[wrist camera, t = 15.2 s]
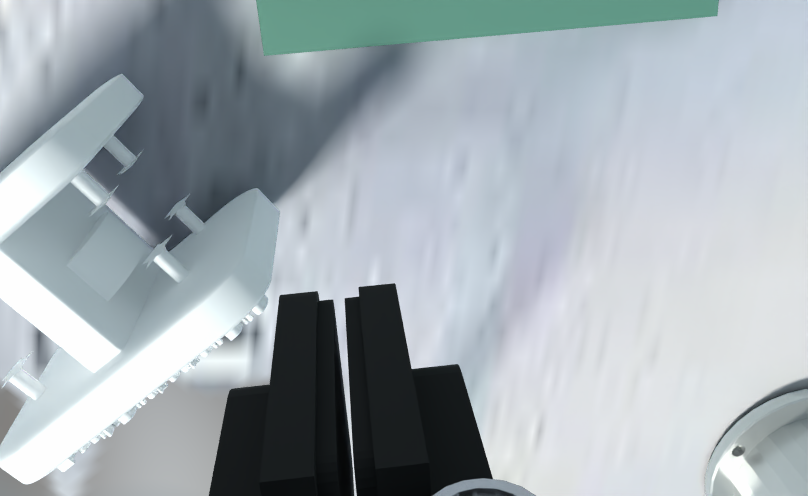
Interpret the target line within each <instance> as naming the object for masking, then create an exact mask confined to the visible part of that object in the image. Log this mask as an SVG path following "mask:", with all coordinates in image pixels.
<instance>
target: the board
mask: <svg viewBox="0 0 808 496" xmlns="http://www.w3.org/2000/svg"><path fill="white" fill-rule="evenodd" d="M256 2H257V9H258V16H259V23H260V30H261V37H262V44H263V51H264V56H266V55H278V54H289V53H301V52H312V51H323V50H335V49H346V48H358V47H369V46H381V45H392V44H403V43H415V42H426V41H438V40H449V39H460V38H472V37H483V36H495V35H506V34H517V33H529V32H540V31H552V30H563V29H575V28H586V27H597V26H609V25H620V24H632V23H643V22H654V21H666V20H677V19H689V18H700V17H711V16H717V13H718V2H719V0H256Z"/></svg>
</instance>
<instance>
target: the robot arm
mask: <svg viewBox="0 0 808 496" xmlns="http://www.w3.org/2000/svg"><path fill="white" fill-rule="evenodd" d="M345 312H346V331H347V349H348V367H349V385H350V403H351V421H352V440H353V457H354V470H355V481H356V491H357V496H536V495H534V494H533V493H531V492H529V491H528V490H526V489H525V488H523V487H521V486H519V485H516V484H513V483H510V482H507V481H504V480H495V479H493V478H492V474H491V471H490V468H489V464H488V461H487V457H486V454H485V451H484V447H483V444H482V440H481V437H480V434H479V430H478V427H477V423H476V420H475V417H474V413H473V410H472V406H471V403H470V400H469V396H468V393H467V389H466V386H465V383H464V379H463V376H462V372H461V370H460V367H459V365H458V364H455V365H446V366H437V367H427V368H418V369H411V364H410V359H409V354H408V348H407V343H406V338H405V332H404V327H403V322H402V317H401V311H400V306H399V301H398V295H397V290H396V285H395V283H394V284H384V285H375V286H365V287H359V297H352V298H345ZM705 494H706V496H808V389H803V390H799V391H795V392H791V393H787V394H784V395H782V396H779V397H777V398H774V399H772V400H769V401H768V402H766V403H764V404H762V405H760V406H759V407H757V408H755V409H753V410H752V411H751V412H749V413H748V414H747V415H745V416H744V417H743V418H742V419H740V420H739V421H738V422H737V423H736V424H735V425H734V426H733V427H732V428H731V429H730V430H729V431H728V432H727V433H726V434H725V435H724V437H723V438H722V440H721V441H720V443H719V444H718V445H717V447H716V448H715V450H714V452H713V454H712V457H711V459H710V461H709V463H708V467H707V471H706V475H705ZM209 496H354V484H353V467H352V455H351V446H350V437H349V429H348V420H347V412H346V403H345V395H344V386H343V378H342V369H341V360H340V352H339V343H338V335H337V326H336V318H335V309H334V302H333V300H323V301H319V295H318V291H316V292H306V293H296V294H287V295H280V297H279V305H278V315H277V324H276V333H275V342H274V351H273V360H272V369H271V378H270V385H262V386H253V387H244V388H235V389H231V390H230V391H229V395H228V398H227V404H226V409H225V414H224V419H223V424H222V430H221V435H220V440H219V446H218V451H217V456H216V461H215V466H214V471H213V477H212V482H211V487H210V492H209Z"/></svg>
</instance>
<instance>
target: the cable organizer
mask: <svg viewBox="0 0 808 496" xmlns="http://www.w3.org/2000/svg"><path fill="white" fill-rule="evenodd" d="M143 97H144V96H143V94H142V93H141V92H140V91H139V90H138V89H137V88H136V87H135V86H134V85H133V84H132V83H131V82H130V81H129V80H128V79H127V78H126V77H125V76H124V75H123V74H120V75H117V76H115V77H113V78H112V79H110V80H109V81H107V82H106V83H104V84H103V85H102V86H100V87H99V88H98V89H96V90H95V91H94V92H93V93H91V94H90V95H89V96H88V97H87V98H85V99H84V100H83V101H82V102H81V103H80V104H78V105H77V106H76V107H75V108H74V109H73V110H71V111H70V112H69V113H68V114H67V115H66V116H64V117H63V118H62V119H61V120H60V121H59V122H57V123H56V124H55V125H54V126H53V127H52V128H50V129H49V130H48V131H47V132H46V133H45V134H43V135H42V136H41V137H40V138H39V139H37V140H36V141H35V142H34V143H33V144H32V145H30V146H29V147H28V148H27V149H26V150H25V151H24V152H23V153H21V154H20V155H19V156H18V157H17V158H16V159H15V160H14V161H13V162H12V163H10V164H9V165H8V166H7V167H6V168H5V169H4V170H3V171H2V172H1V173H0V298H1V299H2V300H3V301H5V302H6V303H7V304H8V305H10V306H11V307H12V308H13V309H14V310H16V311H17V312H18V313H19V314H21V315H22V316H23V317H24V318H26V319H27V320H28V321H29V322H31V323H32V324H33V325H34V326H35V327H37V328H38V329H39V330H40V331H42V332H43V333H44V334H45V335H47V336H48V337H49V338H50V339H52V340H53V341H54V342H55V343H56V344H58V345H59V346H60V347H59V348H58V349H57V351H56V352H55V353H54V355H53V356H52V358H51V359H50V361H49V363H48V365H47V366H46V368H45V370H44V371H43V373H42V375H41V377H40V378H39V380H37V379H35V378H34V377H33V376H31V375H30V374H29V373H28V372H26V371H25V370H24V369H22V366H23V363H24V362H25V361H26V359H27V358H28V357H29V356H30V354H31V353H32V352H33V351H32V352H31V353H30V354H29V355H27V356H26V357H25V358H24V359H22V358H21V359H20V360H19V361H18V362H17V363H16V364H15V365H14V367H13V368H12V369H11V370H10V372H9V373H8V374H7V375H6V377H5V378H4V379H3V381H4V380H6V381H5V383H4V385H5V384H6V383H7V382H8V381H10V382H11V383H13V384H14V385H15V386H16V387H18V388H19V389H20V390H22V391H23V392H24V393H26V394H27V395H28V396H29V397H28V399H27V400H26V402H25V404H24V406H23V407H22V409H21V411H20V413H19V414H18V416H17V418H16V419H15V421H14V423H13V425H12V426H11V428H10V429H9V431H8V433H7V435H6V436H5V438H4V440H3V442H2V443H1V445H0V467H1V468H2V469H3V470H5V471H6V472H8V473H9V474H11V475H12V476H13V477H15V478H16V479H18V480H19V481H21V482H22V483H23V484H30V483H33V482H36V481H37V480H39V479H41V478H43V477H44V476H46V475H47V474H49V473H50V472H52V471H53V470H54V469H55V468H58V469H60V470H61V471H62V472H64V471H66V470H67V469H68V468H69V467H71V466H72V465H73V464H74V463H75V460H74V457H75V454H76V452H77V451H79V452H80V453H81V454H82V453H84V452H85V451H86V450H87V448H88V447H89V445H90V444H91V442H93V443H96V442H98V440H99V439H100V438H101V437H103V438H104V439H105V438H106V435H108V436H109V437H110V436H112V434H113V431H114V428H115V426H118V425H119V424H120V423H121V422H122V423H123V424H126V422H128V421H129V420H130V419H131V418H132V417H133V416H134V414H135V412H136V410H137V407H138V408H141V406H142V405H145V404H146V400H145V399H144V398H146V397H148V398H150V399H152V398H154V397H155V395H156V394H157V393H158V391H159V392H160V393H163V391H164V389H165V388H166V387H167V386H168V384H167V383H166V382H167V380H170V381H171V382H174V381H175V380H176V379H177V378H178V377H179V375H180V373H181V370H182V371H183V372H187V371H188V370H189V369H190V368H191V367H192V368H193V369H194V368H195V366H196V364H197V363H198V362H199V361H200V359H198V356H199V355H201V356H203V357H206V356H207V355H208V354H209V353H210V352H211V350H212V348H213V346H214V347H215V348H217V347H218V344H219V345H221V344H222V343H223V340H222V339H221V338H222V337H223V336H224V335H225V336H226V337H228V338H229V339H230V340H231V341H232V340H233V339H234V338H235V337H237V336H238V335H239V334H240V332H241V331H242V328H243V323H242V322H241V321H243V322H244V323H245V324H248V321H252V320H253V316H252V315H251V314H250V312H251V310H253V311H254V312H255V313H256V314H257V315H259V314H261V313H262V312H263V311H264V310H265V308H266V306H267V303H268V298H267V297H266V296H265V295H264V294H265V292H266V291H267V289H268V287H269V285H270V282H271V278H272V270H273V263H274V255H275V247H276V240H277V232H278V224H279V217H280V211H279V210H278V209H277V208H276V207H275V206H274V204H273V203H272V202H271V201H270V200H269V199H268V198H267V197H266V196H265V195H264V194H263V193H262V192H261V191H260V190H259V189H258V188H254V189H251V190H248V191H246V192H244V193H242V194H241V195H239V196H237V197H236V198H234V199H233V200H232V201H230V202H229V203H228V204H226V205H225V206H224V207H223V208H221V209H220V210H219V211H218V212H216V213H215V214H214V215H213V216H212V217H210V218H209V219H208V220H207V221H206V222H204V223H203V222H202V221H201V220H200V219H199V218H198V217H197V216H196V215H195V214H194V213H193V212H192V211H191V210H190V209H189V208H188V207H187V206H186V205H185V204H186V203H185V200H186V199H187V198H188V196H189V195H190V194H189V195H187V196H186V197H185V198H183V199H182V200H181V201H179V202H177V203H176V204H175V206H174V207H173V208H172V209H171V211H170V212H169V213H168V214H167V216H166V217H165V218H167V217H168V216H170V218H169V220H170V219H171V218H172V216H173V215H175V216H177V217H178V218H179V219H180V220H181V221H182V222H183V223H184V224H185V225H186V226H187V227H188V228H189V229H190V230H191V231H192V233H191V234H190V235H189V236H188V237H186V238H185V239H184V240H183V241H182V242H180V243H179V244H178V245H177V246H176V247H174V248H173V249H172V250H171V251H169V252H168V251H167V250H166V247H165V245H166V243H167V242H168V240H169V239H170V238H171V236H172V235H171V236H170V237H169V238H168V239H166V240H165V241H164V242H163V243H161V244H157V246H156V247H155V249H153V248H152V247H151V246H150V245H149V244H148V243H147V242H146V241H144V240H143V239H142V238H141V237H140V236H139V235H138V234H137V233H136V232H135V231H134V230H133V229H131V228H130V227H129V226H128V225H127V224H126V223H125V222H124V221H123V220H122V219H121V218H120V217H119V216H117V215H116V214H115V213H114V212H113V211H112V210H111V209H110V208H109V207H108V206H107V205H106V203H107V201H108V200H109V198H110V197H111V196H112V194H113V193H114V191H115V190H116V188H117V187H118V186H117V187H116V188H115V189H114V190H112V191H111V192H110V193H108V192H107V191H105V190H104V189H103V188H102V187H101V186H100V185H99V184H98V183H97V182H96V181H95V180H94V179H93V178H92V177H90V176H89V175H88V174H87V173H86V172H85V171H84V170H83V169H84V168H85V167H86V165H87V164H88V163H89V162H90V161H91V160H92V159H93V158H94V156H95V155H96V154H97V153H98V152H99V151H100V150H101V148H102V147H103V146H104V147H105V148H106V149H107V150H108V151H109V152H110V153H111V154H112V155H113V156H114V157H115V158H116V159H117V160H118V161H119V162H120V163H121V164H122V165H123V166H124V168H123V169H122V170H121V171H120V172H119V173H120V175H121V174H122V173H123V172H125V171H126V170H128V169H129V168H130V167H132V166H133V164H134V163H135V161H136V160H137V159H138V157H139V156H140V154H141V153H142V151H143V150H144V149H145V148H144V149H143V150H142V151H141V152H140V153H139V154H138V155H137V156H135V155H134V154H132V153H131V152H130V151H129V150H128V149H127V148H126V147H125V146H124V145H123V144H122V143H121V142H120V141H119V140H118V139H117V138H116V137H115V136H114V134H115V132H116V131H117V130H118V129H119V128H120V127H121V126H122V124H123V123H124V122H125V121H126V120H127V119H128V118H129V116H130V115H131V114H132V113H133V112H134V111H135V110H136V108H137V107H138V106H139V104H140V103H141V102H142V100H143ZM119 173H118V174H119ZM165 218H164V219H165ZM4 385H3V387H4Z"/></svg>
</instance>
